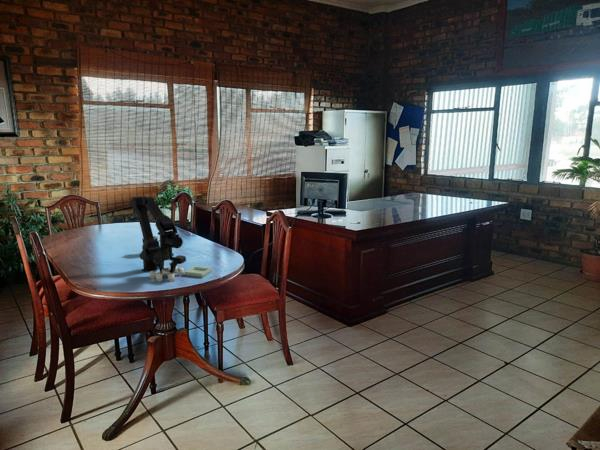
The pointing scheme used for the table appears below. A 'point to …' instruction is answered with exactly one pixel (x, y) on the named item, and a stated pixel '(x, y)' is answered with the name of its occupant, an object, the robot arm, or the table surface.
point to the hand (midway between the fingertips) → (167, 274)
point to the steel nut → (165, 272)
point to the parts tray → (198, 272)
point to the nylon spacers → (170, 275)
